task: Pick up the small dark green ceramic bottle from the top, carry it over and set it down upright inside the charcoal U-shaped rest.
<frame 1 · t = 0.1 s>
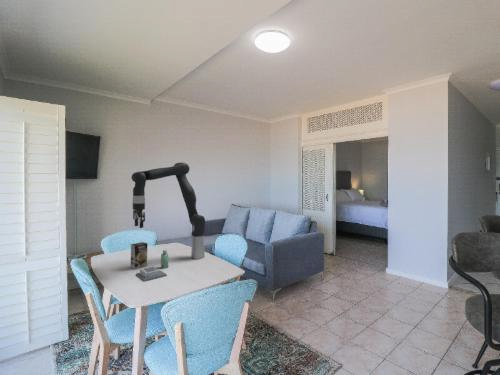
hand: (138, 226, 175), 29 cm above the table, tool pointing down, fingers open, 8 cm apart
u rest: (151, 275, 168), on the table
coffee box: (139, 267, 184), on the table
green bottle: (164, 267, 183), on the table
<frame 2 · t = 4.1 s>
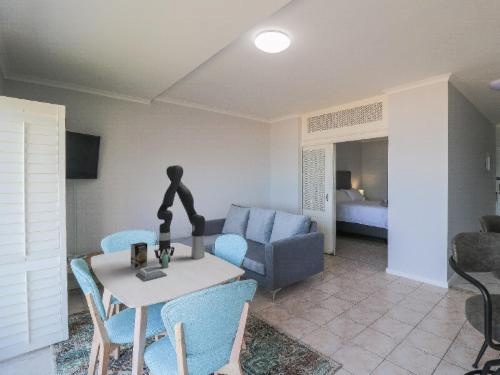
hand: (164, 263, 183), 3 cm above the table, tool pointing down, fingers closed on green bottle, 4 cm apart
green bottle: (164, 267, 183), on the table, touching gripper
everything else where it was.
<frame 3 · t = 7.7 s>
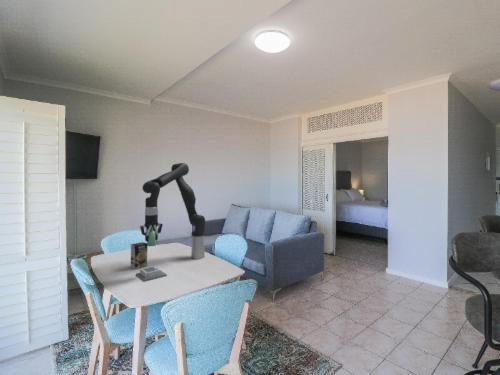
hand: (151, 240, 167), 22 cm above the table, tool pointing down, fingers closed on green bottle, 4 cm apart
green bottle: (151, 245, 167), point 19 cm above the table, touching gripper
everything else where it was.
when the fingers open (5 cm above the table, at t = 11.5 s): green bottle drops 1 cm, resting on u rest.
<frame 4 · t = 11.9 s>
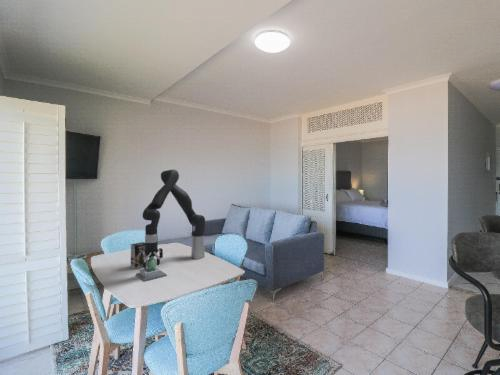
hand: (151, 266, 168), 6 cm above the table, tool pointing down, fingers open, 8 cm apart
green bottle: (151, 273, 168), point 1 cm above the table, touching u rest
everything else where it was.
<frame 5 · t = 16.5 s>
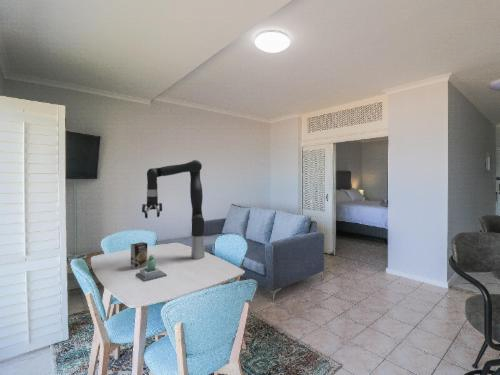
hand: (152, 217, 195), 32 cm above the table, tool pointing down, fingers open, 8 cm apart
nothing on the table moved.
at the end: green bottle 0.2 cm off-centre on the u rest, point 1.0 cm above the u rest's base; green bottle tilted 0°; the gripper is holding nothing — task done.
